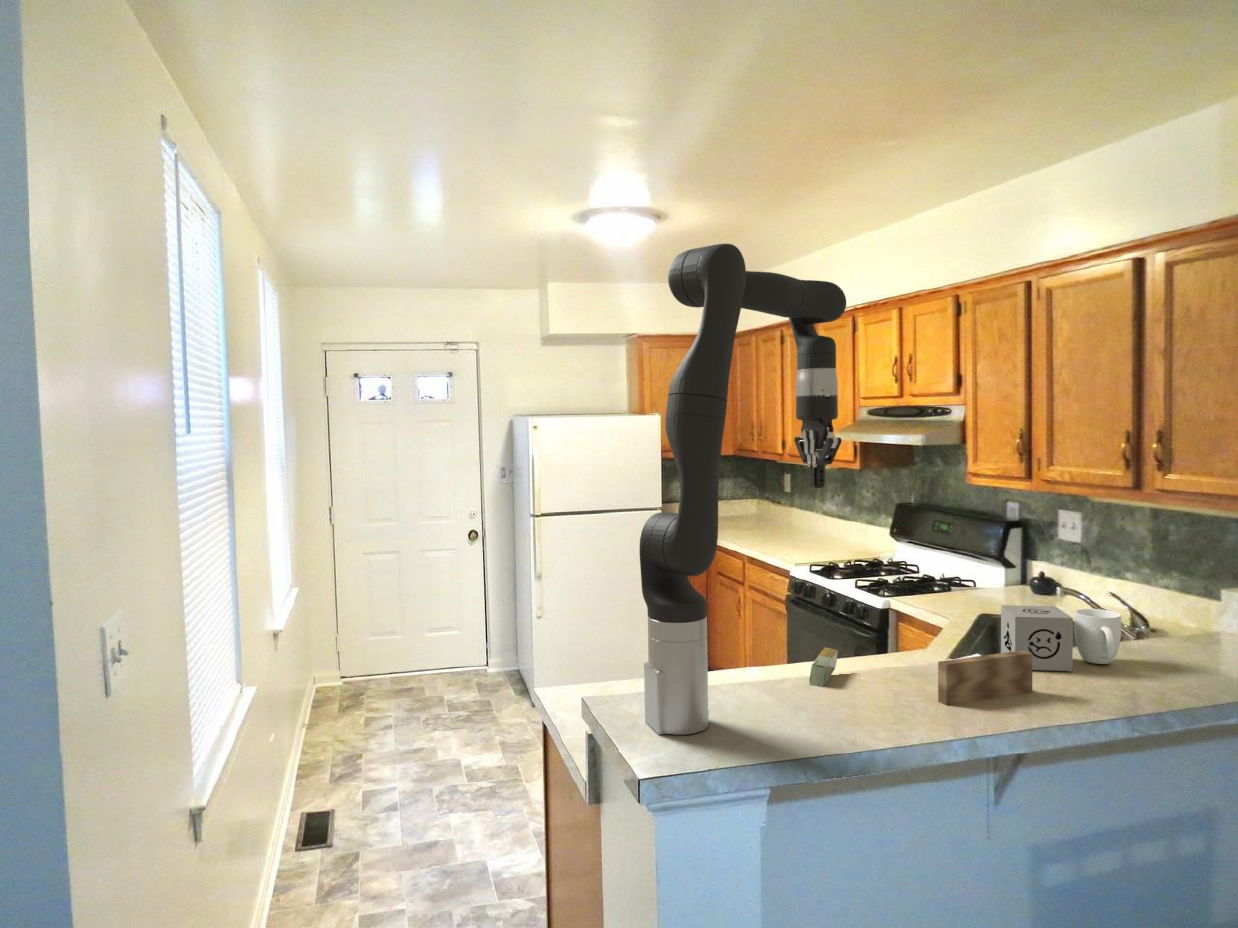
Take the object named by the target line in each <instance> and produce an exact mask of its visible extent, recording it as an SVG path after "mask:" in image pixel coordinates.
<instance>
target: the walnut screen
mask: <svg viewBox="0 0 1238 928" xmlns="http://www.w3.org/2000/svg"><path fill="white" fill-rule="evenodd" d="M1032 655H1033V653H1030V652H1027V651H1024V650H1022V651H1015V652H1007V653H1001V652H999V653H994V654H986V655H978V656H971V657H964V658H955V659H947V660H941V661H940V660H939V661H937V665H938V666H937V672H938V673H937V680H938V681H937V683H938V684H937V689H938V690H937V693H938V694H937V701H938V703H941V705H942V704H943V705H944V706H951V705H952V706H953V705H959V704H965V703H972V702H979V701H985V700H990V699H997V698H999V699H1000V698H1005V697H1010V696H1017V695H1024V694H1031V693H1033V670H1032Z"/></svg>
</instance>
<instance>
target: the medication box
mask: <svg viewBox="0 0 1238 928" xmlns="http://www.w3.org/2000/svg"><path fill="white" fill-rule="evenodd" d="M837 659H838V649H835V648H831V647H824V648H823V649H822V650H821V652H820V653H819V654H818V656H817V657H816V659H815V660H814V661H813V662H812V664H811V667H810V675H809V683H808V685H809V686H814V687H824V686H825V685H826V683H827V681H828V680H829V679H830V677H831V676H832V674H833V673H834V671H835V669H836V666H837V662H838V661H837Z"/></svg>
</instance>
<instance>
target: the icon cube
mask: <svg viewBox="0 0 1238 928" xmlns="http://www.w3.org/2000/svg"><path fill="white" fill-rule="evenodd" d="M1073 625H1074V617H1072V616H1071V615H1069V614H1068V613H1066V612H1065V611H1063V610H1062V609H1060V608H1058V607H1057V605H1056V606H1055V605H1014V604H1013V605H1009V604H1007V605H1006V604H1005V605H1003V604H1001V605H1000V653H1007V652H1015V651H1022V650H1024V651H1027V652H1030V653H1033V655H1032V671H1052V672H1053V671H1057V672H1073V660H1074V659H1073V657H1074V656H1073V649H1074V646H1073V645H1074V644H1073V641H1074V638H1073V637H1074V636H1073V635H1074V634H1073V632H1074V626H1073Z"/></svg>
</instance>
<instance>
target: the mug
mask: <svg viewBox="0 0 1238 928" xmlns="http://www.w3.org/2000/svg"><path fill="white" fill-rule="evenodd" d="M1073 625H1074V626H1073V629H1074V639H1075V643H1076V648H1077V650H1078V653H1079V655H1080V657H1081V658H1082V660H1083V661H1085V662H1087V663H1091V664H1098V665H1107V664H1111V663H1112V662H1113V661H1114V659H1115V658H1116V657H1117V655H1118V651H1119V649H1120V645H1121V640H1122V639H1121V637H1122V636H1121V635H1122V615H1121V614H1120V613H1118V612H1117V611H1116V612H1115V611H1111V610H1106V609H1098V608H1096V609H1095V608H1079V609H1076V610H1075V611H1074V618H1073Z"/></svg>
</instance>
